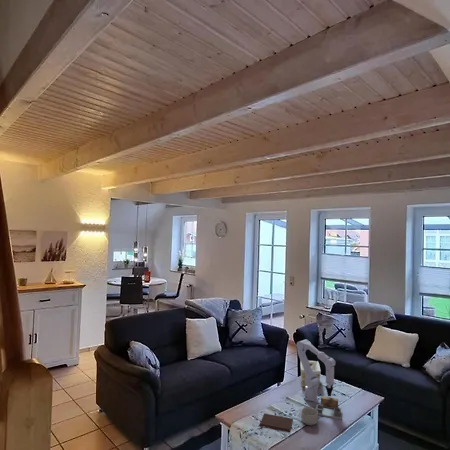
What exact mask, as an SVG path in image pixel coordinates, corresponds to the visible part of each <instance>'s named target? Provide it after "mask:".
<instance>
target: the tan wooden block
mask: <svg viewBox="0 0 450 450" xmlns="http://www.w3.org/2000/svg"><path fill="white" fill-rule="evenodd" d="M320 405H323V406H324V407H323V408H327V409H332V410H335V407H336V408H339V398H335V397H332V396H324V395H321V396H320Z"/></svg>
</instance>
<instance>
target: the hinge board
mask: <svg viewBox="0 0 450 450" xmlns="http://www.w3.org/2000/svg"><path fill="white" fill-rule="evenodd" d="M315 409H316V410H317V411H318V416H319V417H326V418H330V419H331V418H332V419H335V420H342V419H343V417H342V416H343V411H342V408H341V407H338V408H336V407H335V409H333V408H328V407H323V405H321V403H317V404H316V406H315Z"/></svg>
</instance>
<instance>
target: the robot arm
mask: <svg viewBox="0 0 450 450" xmlns="http://www.w3.org/2000/svg"><path fill="white" fill-rule="evenodd" d="M295 346H296V349H297V350H296V351H297V355H298V358H299V361H300V362H301V363H302V365H303V368H304V371H305V373H306V378H305V380H306V385H307V386H305V387H304V400H306V401H309V402H310V401H311V402H314V403H315V402H316V403H317V402H318V400H319V396H318V388H317V387H318V385H319V386H320V381H319V379H318V378H317V376H316V375H315V374H314V373H313V372H312V369H311V367H310V366H311V364H309V362H308V361H309V359H308V357H307V355H306V352H307V351H308V350H309V351H310V352H311V353H313V354H314V355H316V356H317V359H318V360H320V361H321V362H322V363H323V364H324V366H325V383H326V385H325V389H326V394H327V397H332V393H333V390H334V387H333V386H334V384H336V381H335V366H336V360H335V359H334V357H330V356H329V355H327V354H326V353H325V352H324V351H320V350H319V349H317V348H316V347H315V346H314V345H313V344H312V343H311V341H309V339H303V340H299V341H297V342H296V345H295Z"/></svg>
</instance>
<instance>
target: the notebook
mask: <svg viewBox="0 0 450 450" xmlns="http://www.w3.org/2000/svg"><path fill="white" fill-rule="evenodd" d="M293 419H294V418H291V417H285V416H280V415H275V414H269V413H263V415H262V418H261V420H260V422H259V427H263V426H265V427H264V428H268V427H270V428H269V429H273V428H274V429H275V430H278V429H279V431H283V430H284V432H287V433H288V432H291V428H292V424H293V421H294V420H293Z"/></svg>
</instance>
